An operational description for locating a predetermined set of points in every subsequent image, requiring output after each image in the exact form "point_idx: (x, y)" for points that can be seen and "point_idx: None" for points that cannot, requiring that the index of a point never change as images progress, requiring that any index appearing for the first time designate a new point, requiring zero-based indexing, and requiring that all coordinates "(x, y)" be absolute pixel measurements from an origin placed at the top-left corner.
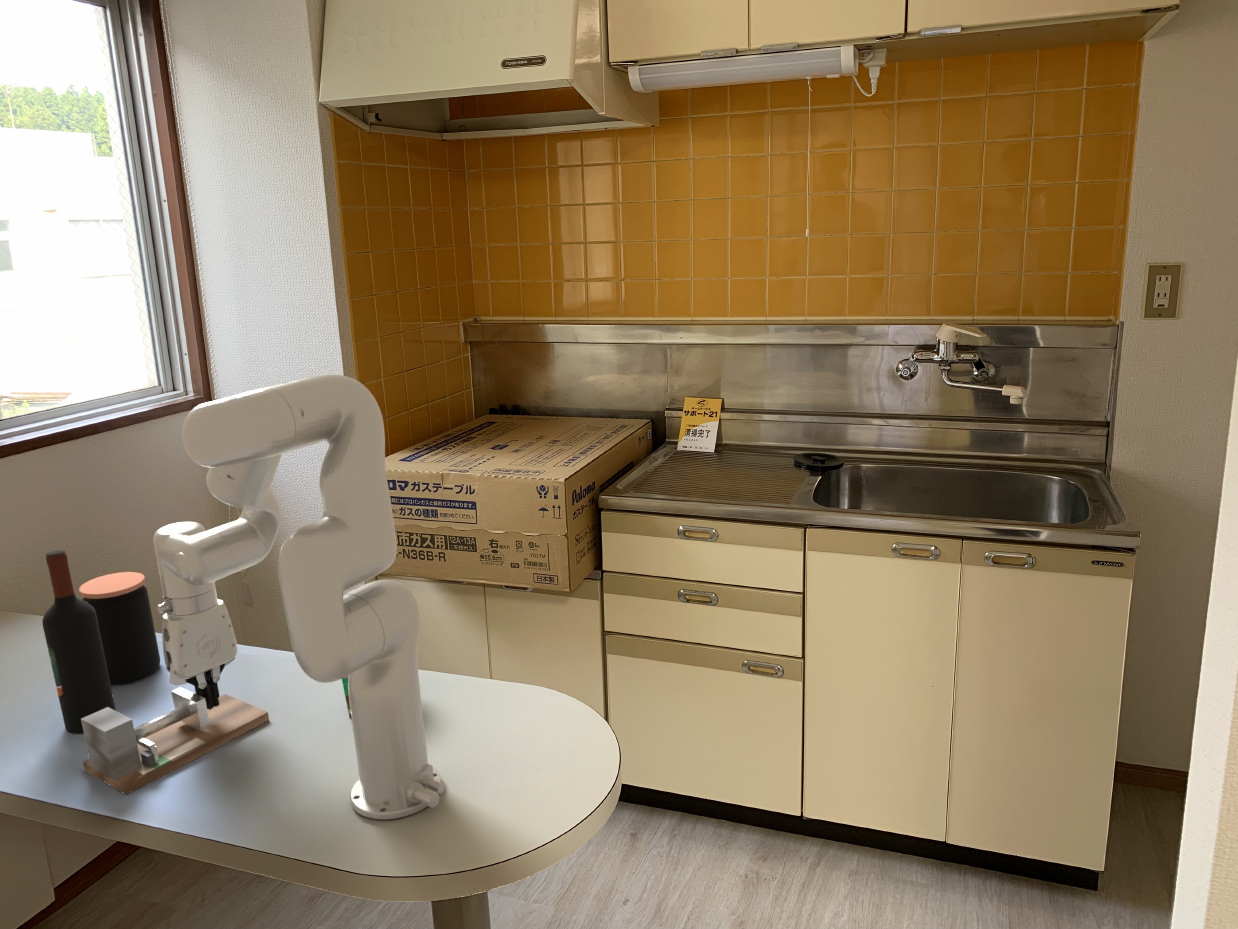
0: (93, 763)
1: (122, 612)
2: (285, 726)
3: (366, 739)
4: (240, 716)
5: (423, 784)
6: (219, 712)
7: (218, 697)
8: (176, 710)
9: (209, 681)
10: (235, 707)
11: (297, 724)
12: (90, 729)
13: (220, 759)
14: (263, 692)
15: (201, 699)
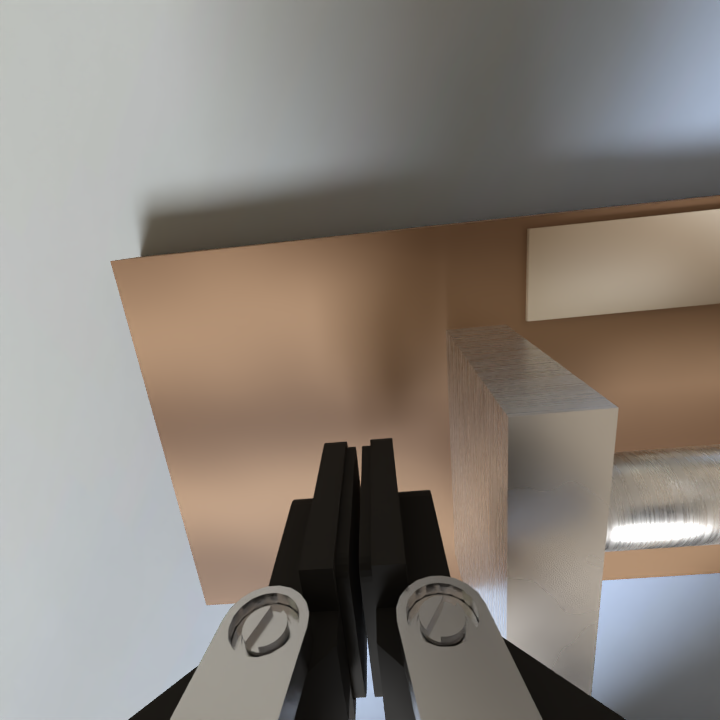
0: None
1: None
2: (93, 109)
3: None
4: (247, 349)
5: None
6: (305, 476)
7: (300, 499)
8: (645, 520)
9: (338, 638)
10: (225, 458)
11: (28, 65)
12: None
13: (514, 76)
14: (66, 524)
15: (546, 423)
